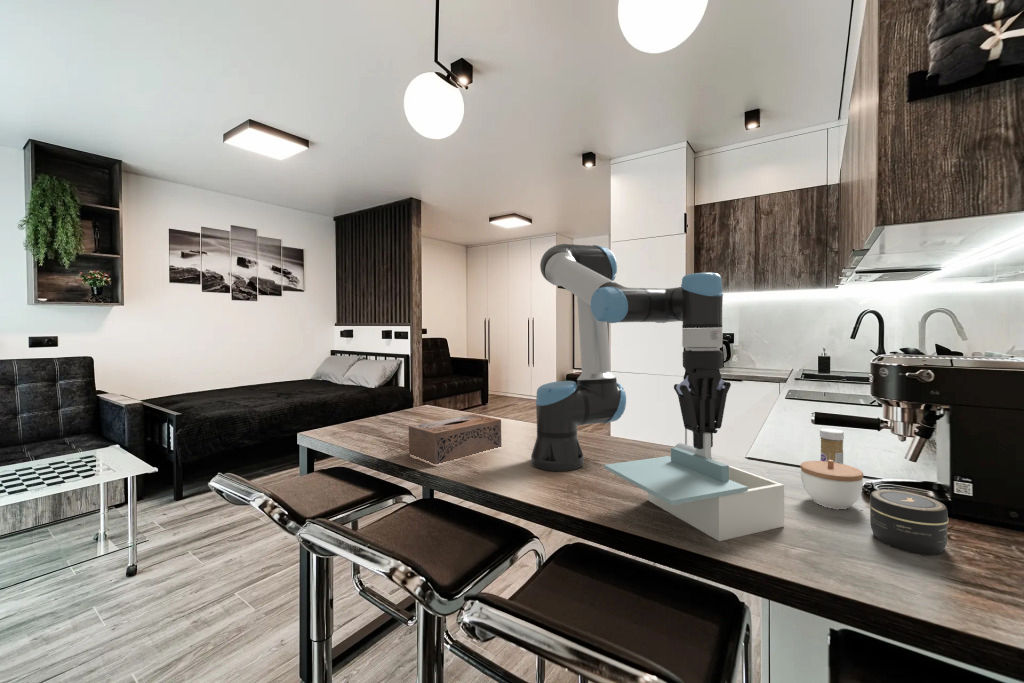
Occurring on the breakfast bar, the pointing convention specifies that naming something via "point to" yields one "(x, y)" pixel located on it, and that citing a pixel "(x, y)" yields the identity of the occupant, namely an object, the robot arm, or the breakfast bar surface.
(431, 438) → the tissue box cover
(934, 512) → the jar
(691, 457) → the lid
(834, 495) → the lidded jar
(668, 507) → the box
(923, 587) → the breakfast bar surface
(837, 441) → the sprinkles bottle
